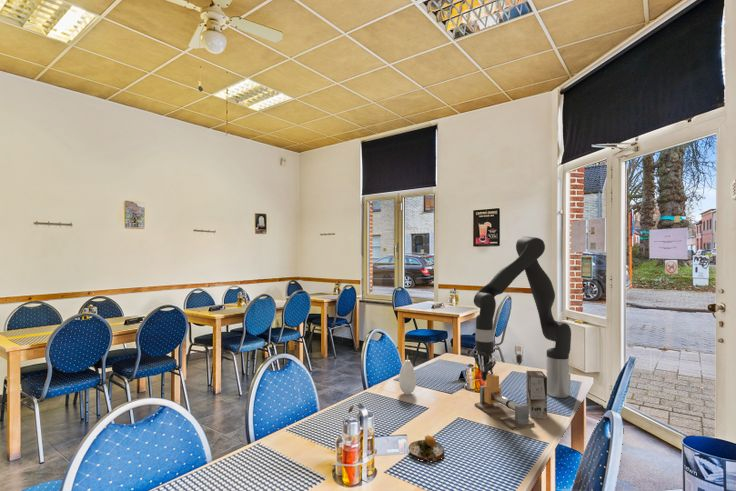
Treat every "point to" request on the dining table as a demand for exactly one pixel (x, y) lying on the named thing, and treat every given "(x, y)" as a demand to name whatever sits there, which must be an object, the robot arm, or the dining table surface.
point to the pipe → (509, 406)
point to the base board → (502, 414)
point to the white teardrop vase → (407, 378)
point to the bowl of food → (427, 449)
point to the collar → (491, 388)
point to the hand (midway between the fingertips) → (484, 379)
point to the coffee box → (536, 393)
